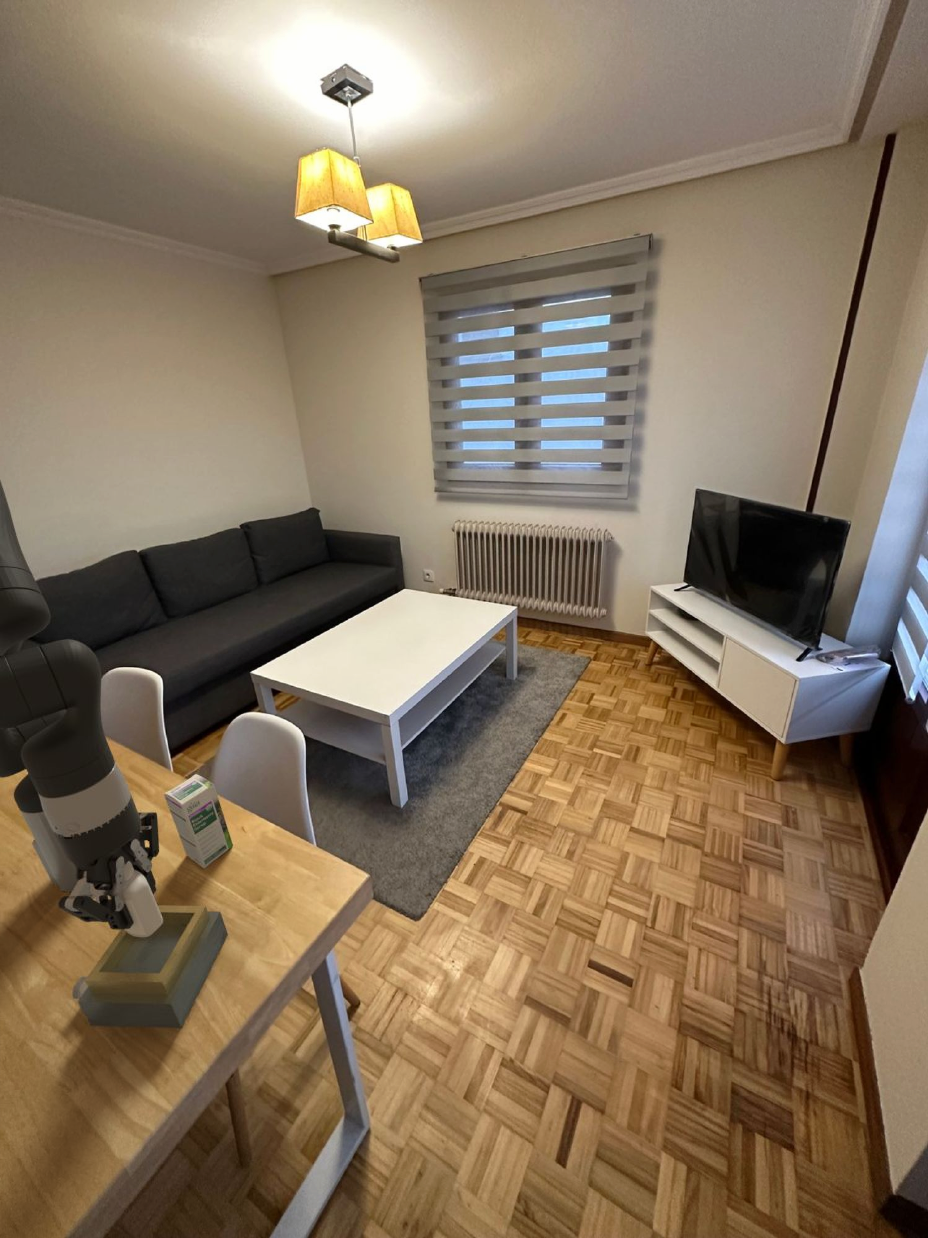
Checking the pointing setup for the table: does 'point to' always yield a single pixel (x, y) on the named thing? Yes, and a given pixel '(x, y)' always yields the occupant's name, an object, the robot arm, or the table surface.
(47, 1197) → the table surface
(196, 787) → the syrup box
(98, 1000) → the grey gold open box
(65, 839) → the robot arm
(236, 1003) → the table surface
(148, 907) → the eye dropper bottle
